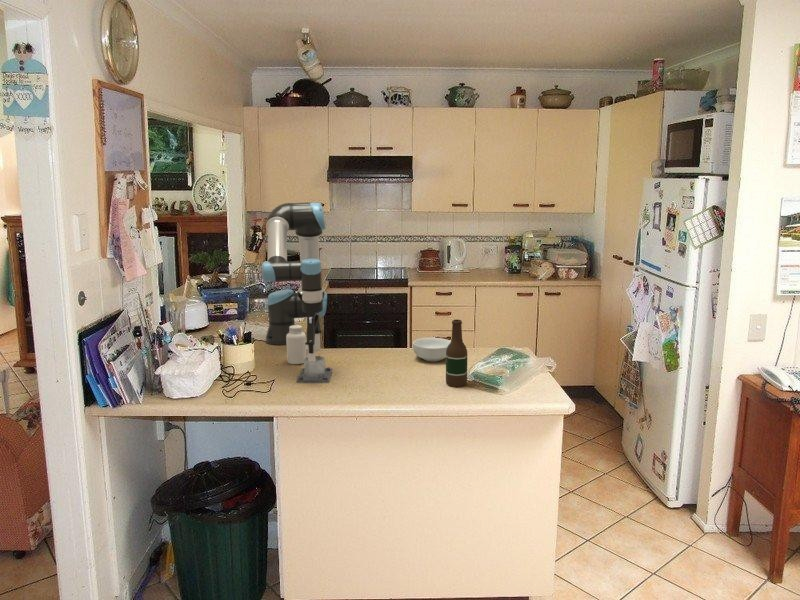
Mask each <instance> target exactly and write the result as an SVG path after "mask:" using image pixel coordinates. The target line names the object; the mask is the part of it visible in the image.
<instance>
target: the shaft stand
mask: <svg viewBox="0 0 800 600" xmlns="http://www.w3.org/2000/svg"><path fill="white" fill-rule="evenodd" d="M333 368H334V367H329V366H328V367H325V375H323V376H320V377H308V376H305V372H304V367H303V368H301V370H300V373H299V374H298V376H297V378H296V383H297V382H304V383H306V384H307V383H308V382H309V383H313V384H314V383H330V380H331V378H332V375H331V374H333V372H332V371H334V369H333ZM330 377H331V378H330Z"/></svg>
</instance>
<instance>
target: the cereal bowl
mask: <svg viewBox="0 0 800 600" xmlns="http://www.w3.org/2000/svg"><path fill="white" fill-rule="evenodd" d="M450 342H451V339H447V338H441V337H420V338H417V339H415V340H414V341H412V349H413V352H414V354H415V355H416V356H417V357H419V358H421V359H423V360H425V361H426V362H439V361H441V360H443V359H446V350H447V347H448V345H449V344H450Z"/></svg>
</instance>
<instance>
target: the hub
mask: <svg viewBox="0 0 800 600" xmlns="http://www.w3.org/2000/svg"><path fill="white" fill-rule="evenodd" d="M303 366H304V367H303V368H304V372H305V376H308V377H320V376H323V375H325V368H326V357H325V356H322V355H316V361H308V356H307V357H306V358H305V359H304V363H303Z"/></svg>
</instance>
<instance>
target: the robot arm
mask: <svg viewBox="0 0 800 600" xmlns="http://www.w3.org/2000/svg"><path fill="white" fill-rule="evenodd" d="M324 215H325V214H324V210H323V206H322V204H321V203H320V202H285V203H282V204H279V205H277V206H275V207H274V209H272V210H271V211H270V213H268V215H267V218H266V220H265V230H266V232H267V261H265V262H262V263H261V278H262V281H264V282H270V283H271V282H272V283H277V282H279V283H281V282H300V285H301V286H299V287H298V290H297V292H295V291H294V290H293V289H291V288H290V289H282V290H276V291H273V292H270V293H269V294H268V296H267V309H268V311H267V312H268V328H267V331H266V335H265V342H266V343H267V344H269V345H275V346H284V345H286V335H287V334H288V333H290V332H289V331H290V330H289V327H290V326H293V325H296V324H295V322H296V321H295V319H306V343H305V345H306V347H307V357H308V361H316V356H317V355H316V351H321V334H322V332H323V331H322V330H321V324H320V318H321V317H324V316H326V315H325V314H326V312H327V305H328V293H327V291H325V289H324V287H323V286H322V285H323V283H322V280H323V279H322V278H323V277H322V276H323V275H322V270H323V268H322V262H321V259H320V237H321V236H322V235H323V231H325V230H326V223H325V217H324ZM289 231H295V235H296V236H297V237H298V239H299V260H298V261H297V260H295V261H294V260H293V261H288V240H287V236H288V232H289ZM286 346H287V345H286Z"/></svg>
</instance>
